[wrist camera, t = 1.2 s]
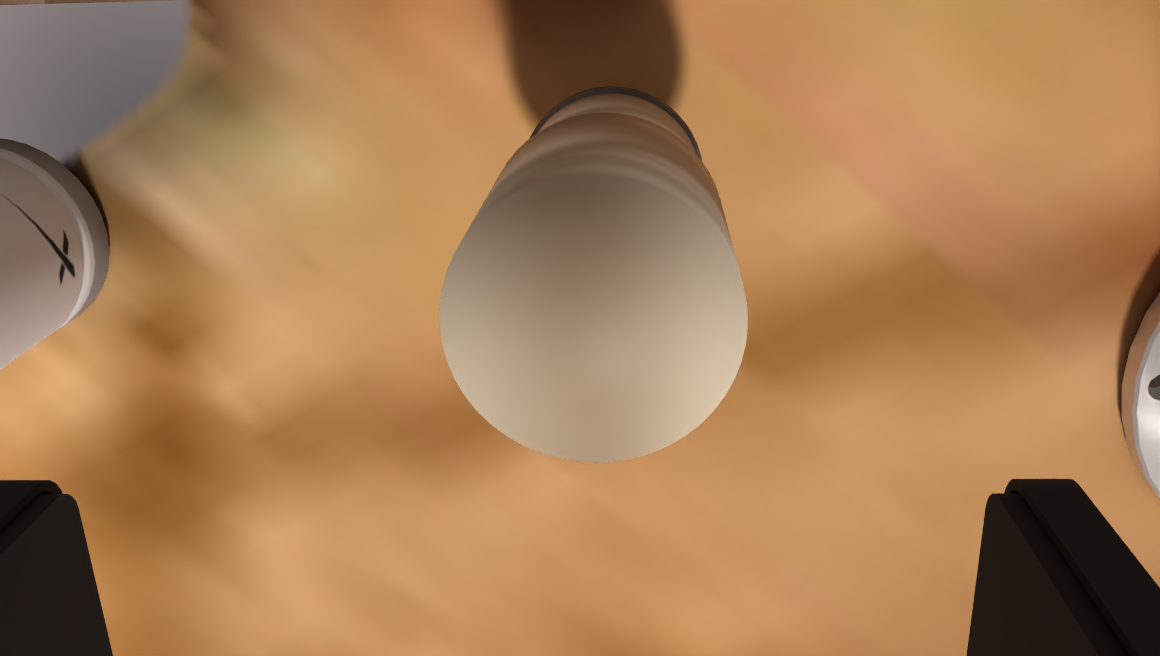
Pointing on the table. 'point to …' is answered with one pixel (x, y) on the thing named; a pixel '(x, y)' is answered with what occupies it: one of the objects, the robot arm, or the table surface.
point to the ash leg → (597, 285)
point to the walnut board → (60, 1)
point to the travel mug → (44, 248)
